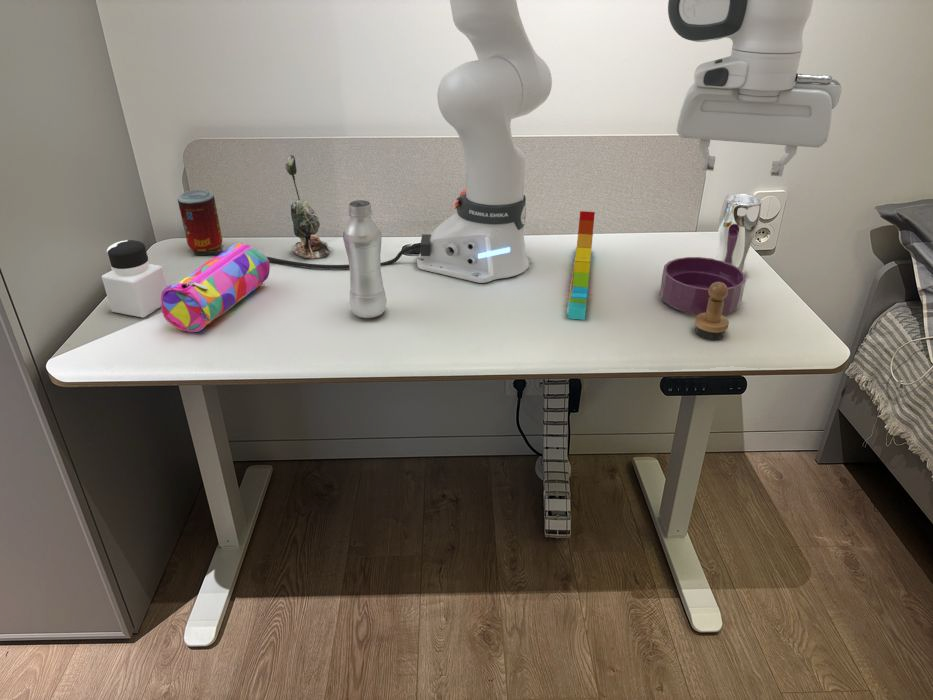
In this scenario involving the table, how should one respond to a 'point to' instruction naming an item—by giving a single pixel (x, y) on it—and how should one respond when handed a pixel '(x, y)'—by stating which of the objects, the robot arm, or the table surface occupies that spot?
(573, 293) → the chart
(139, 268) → the medicine bottle
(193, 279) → the pencil case
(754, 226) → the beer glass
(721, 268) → the bowl
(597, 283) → the table surface
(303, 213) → the plant with pod
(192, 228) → the soda can
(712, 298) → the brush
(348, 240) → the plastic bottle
